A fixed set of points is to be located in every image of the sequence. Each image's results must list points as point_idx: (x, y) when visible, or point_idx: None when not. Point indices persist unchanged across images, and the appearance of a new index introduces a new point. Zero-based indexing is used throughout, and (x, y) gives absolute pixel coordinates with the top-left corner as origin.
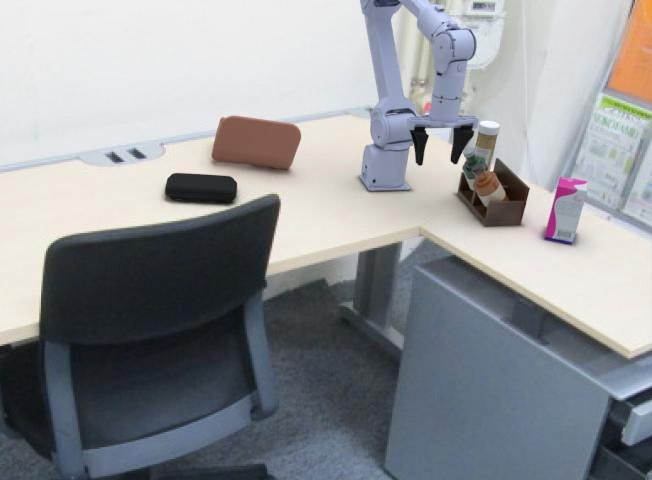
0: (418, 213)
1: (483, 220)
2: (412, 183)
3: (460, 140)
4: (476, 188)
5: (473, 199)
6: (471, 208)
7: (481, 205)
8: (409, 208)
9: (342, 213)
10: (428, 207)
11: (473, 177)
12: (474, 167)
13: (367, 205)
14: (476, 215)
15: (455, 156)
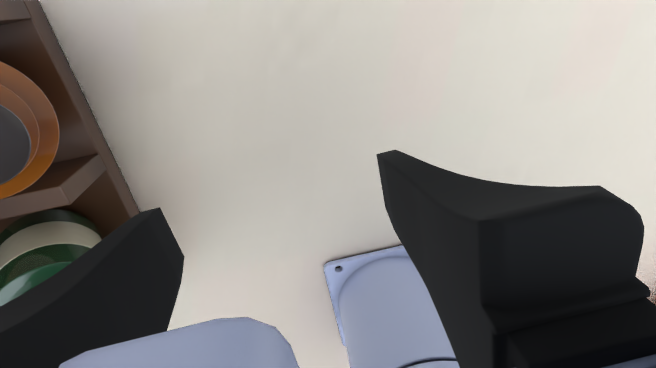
0: (317, 91)
1: (43, 28)
2: (307, 309)
3: (65, 322)
4: (32, 88)
5: (89, 165)
6: (106, 151)
7: (61, 161)
8: (345, 129)
9: (598, 47)
10: (273, 149)
11: (71, 247)
12: (2, 161)
13: (489, 129)
14: (83, 98)
15: (144, 240)
